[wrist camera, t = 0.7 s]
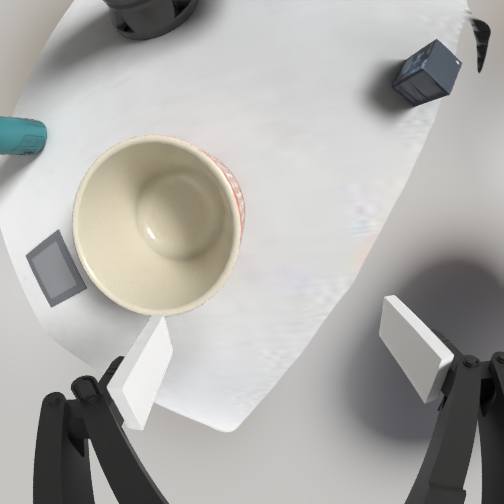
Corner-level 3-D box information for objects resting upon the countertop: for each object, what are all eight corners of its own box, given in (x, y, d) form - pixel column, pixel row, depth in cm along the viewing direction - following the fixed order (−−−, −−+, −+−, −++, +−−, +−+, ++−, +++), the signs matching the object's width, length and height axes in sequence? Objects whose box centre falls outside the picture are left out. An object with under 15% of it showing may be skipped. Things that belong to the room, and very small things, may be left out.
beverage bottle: (48, 114, 36) (-30, 101, 16) (56, 142, 37) (-27, 137, 18) (27, 135, 36) (-48, 131, 17) (35, 162, 38) (-44, 167, 19)
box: (405, 58, 33) (437, 37, 23) (429, 79, 34) (463, 64, 24) (389, 86, 35) (422, 67, 25) (414, 108, 36) (451, 95, 26)
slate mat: (26, 255, 43) (25, 255, 42) (58, 229, 41) (57, 230, 41) (52, 306, 45) (51, 307, 45) (87, 288, 44) (85, 289, 44)
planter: (119, 259, 43) (71, 293, 28) (135, 142, 38) (84, 129, 24) (231, 284, 44) (222, 334, 29) (257, 161, 39) (260, 151, 25)
